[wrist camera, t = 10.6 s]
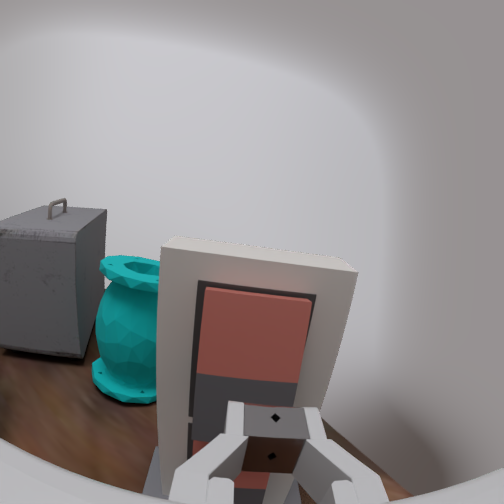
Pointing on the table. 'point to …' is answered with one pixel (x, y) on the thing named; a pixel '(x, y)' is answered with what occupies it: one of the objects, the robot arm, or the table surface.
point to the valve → (128, 329)
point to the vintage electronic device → (51, 279)
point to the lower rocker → (244, 482)
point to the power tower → (189, 327)
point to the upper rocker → (246, 354)
